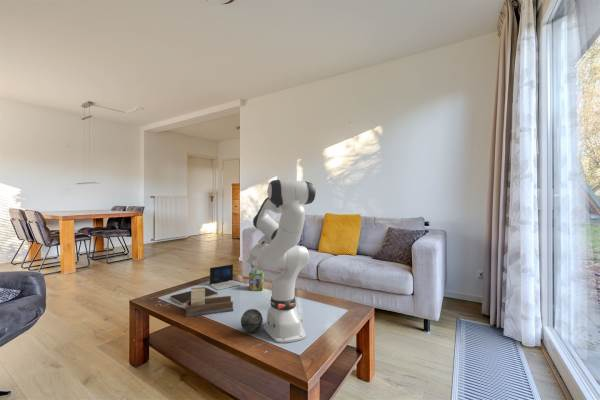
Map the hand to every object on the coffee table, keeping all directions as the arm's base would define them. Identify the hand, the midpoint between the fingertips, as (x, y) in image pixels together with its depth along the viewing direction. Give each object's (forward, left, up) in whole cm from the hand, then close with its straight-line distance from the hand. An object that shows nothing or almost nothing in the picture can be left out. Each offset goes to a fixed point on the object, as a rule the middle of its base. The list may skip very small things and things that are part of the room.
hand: (248, 262), depth 155 cm
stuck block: (+4, +27, -24) cm, 36 cm away
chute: (+4, +20, -25) cm, 33 cm away
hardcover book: (+25, +28, -26) cm, 46 cm away
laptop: (+43, +8, -26) cm, 51 cm away
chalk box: (+30, -12, -25) cm, 41 cm away
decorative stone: (-30, +3, -25) cm, 40 cm away
